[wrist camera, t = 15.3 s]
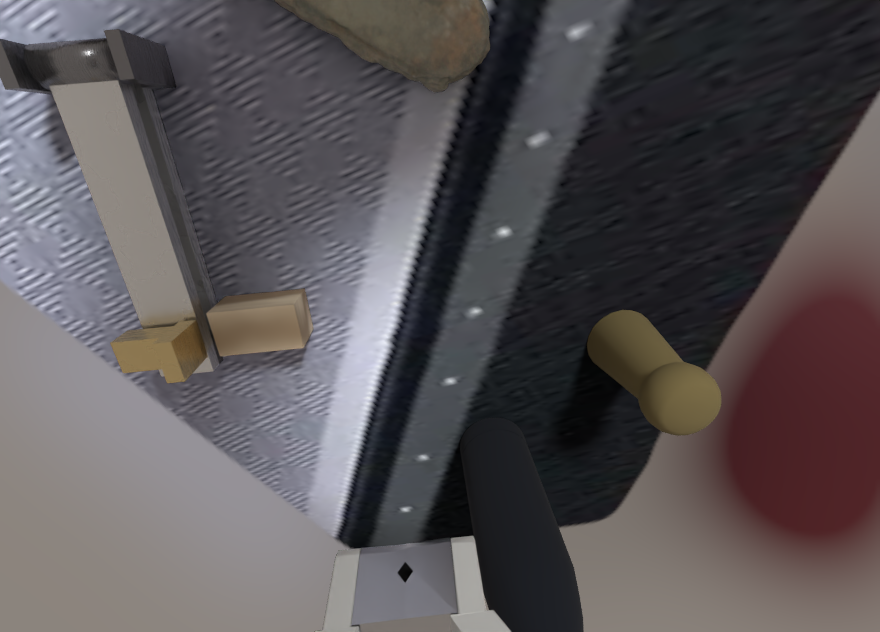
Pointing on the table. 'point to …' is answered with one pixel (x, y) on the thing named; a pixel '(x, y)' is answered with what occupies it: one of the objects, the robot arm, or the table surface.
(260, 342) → the tan wooden block
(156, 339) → the tan l-shaped block
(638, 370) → the cork
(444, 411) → the table surface
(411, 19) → the elongated rock
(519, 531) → the wine bottle
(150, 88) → the base
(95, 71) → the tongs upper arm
